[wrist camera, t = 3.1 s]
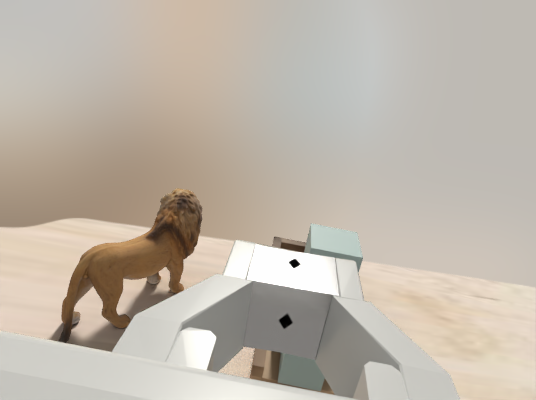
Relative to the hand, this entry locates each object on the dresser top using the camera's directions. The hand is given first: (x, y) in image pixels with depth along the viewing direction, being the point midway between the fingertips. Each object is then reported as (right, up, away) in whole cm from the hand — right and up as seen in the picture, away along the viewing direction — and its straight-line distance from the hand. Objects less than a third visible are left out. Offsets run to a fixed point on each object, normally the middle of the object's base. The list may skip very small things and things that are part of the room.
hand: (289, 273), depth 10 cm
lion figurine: (-12, -7, +25) cm, 29 cm away
